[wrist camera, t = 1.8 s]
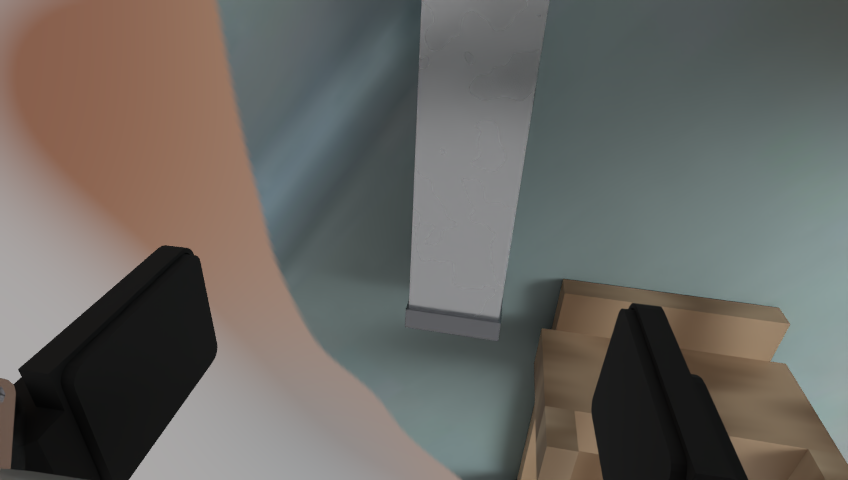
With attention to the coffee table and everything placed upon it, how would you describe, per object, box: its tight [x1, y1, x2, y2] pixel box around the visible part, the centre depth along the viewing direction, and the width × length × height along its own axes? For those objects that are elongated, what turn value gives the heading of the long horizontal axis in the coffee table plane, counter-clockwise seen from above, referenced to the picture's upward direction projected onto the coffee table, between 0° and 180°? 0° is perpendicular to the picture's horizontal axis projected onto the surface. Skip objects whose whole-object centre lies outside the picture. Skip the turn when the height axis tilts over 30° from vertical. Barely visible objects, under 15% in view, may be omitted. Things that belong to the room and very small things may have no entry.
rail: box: [405, 0, 550, 341], centre depth 21 cm, size 4×16×4 cm, turn 177°
